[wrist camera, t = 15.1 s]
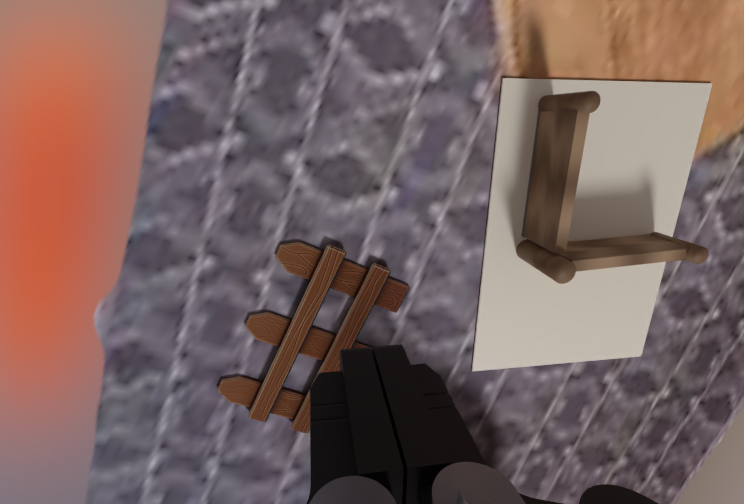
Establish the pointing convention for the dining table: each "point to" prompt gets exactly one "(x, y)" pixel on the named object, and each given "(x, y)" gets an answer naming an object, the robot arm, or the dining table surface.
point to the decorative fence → (311, 328)
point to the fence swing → (631, 251)
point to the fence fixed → (555, 181)
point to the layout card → (584, 221)
